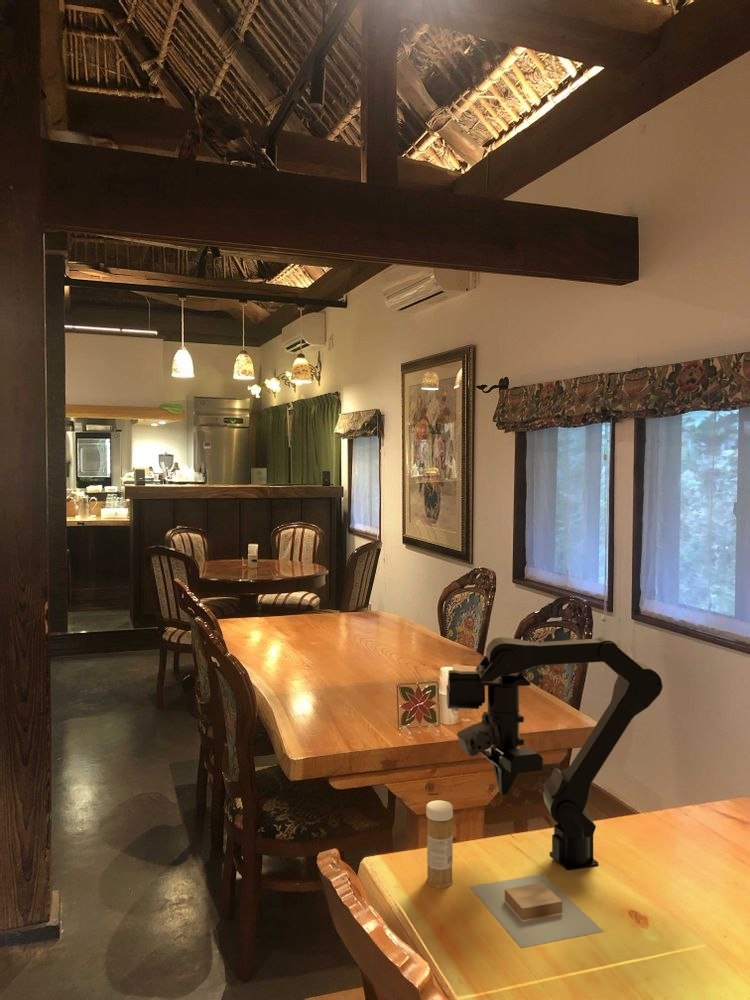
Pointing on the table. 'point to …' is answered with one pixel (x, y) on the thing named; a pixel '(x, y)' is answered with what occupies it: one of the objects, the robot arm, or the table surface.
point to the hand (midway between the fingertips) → (503, 794)
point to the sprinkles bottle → (439, 844)
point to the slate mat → (535, 930)
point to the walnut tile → (533, 901)
